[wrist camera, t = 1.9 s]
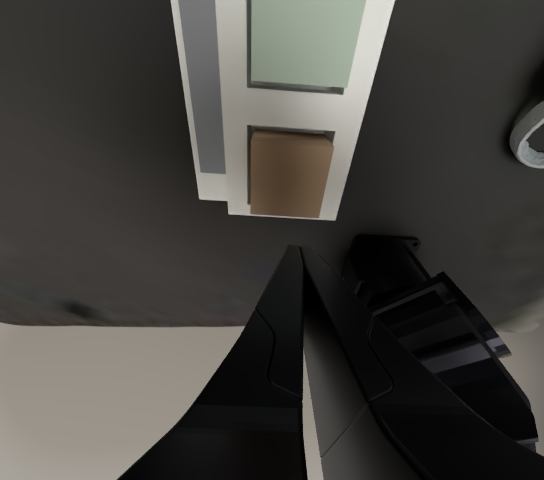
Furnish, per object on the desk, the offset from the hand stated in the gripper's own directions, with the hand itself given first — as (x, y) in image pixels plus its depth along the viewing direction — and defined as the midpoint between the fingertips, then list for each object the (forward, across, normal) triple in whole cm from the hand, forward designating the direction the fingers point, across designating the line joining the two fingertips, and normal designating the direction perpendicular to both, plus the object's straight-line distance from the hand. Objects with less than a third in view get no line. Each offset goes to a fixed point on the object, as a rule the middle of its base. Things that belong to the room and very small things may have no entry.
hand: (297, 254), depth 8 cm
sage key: (+9, 0, -7) cm, 12 cm away
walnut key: (+9, 0, 0) cm, 9 cm away
